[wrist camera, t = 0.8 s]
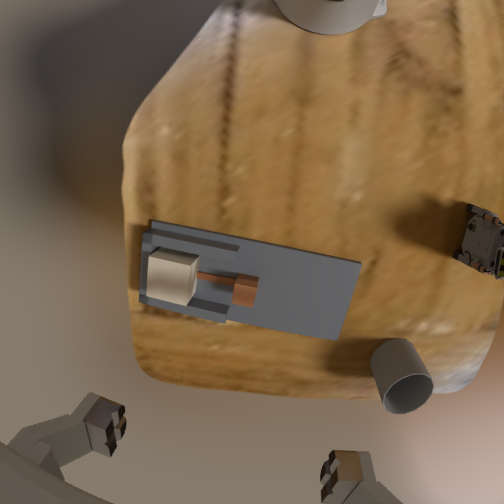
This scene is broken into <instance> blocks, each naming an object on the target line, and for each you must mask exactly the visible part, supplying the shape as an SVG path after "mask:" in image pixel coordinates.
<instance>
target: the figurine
mask: <svg viewBox="0 0 504 504" xmlns="http://www.w3.org/2000/svg"><path fill="white" fill-rule="evenodd" d="M467 211H469V212H471V213H474V214H476V215H475V216H474V217H473V218H472V219H470V220H469V222H468V226H467V229H466V232H465V236H464V239H463V242H462V250H463V252H459V251H456V250H455V253H454V256H453V258H455V259H456V260H460V261H461V262H463V263H464V264H466V265H468V266H470V267H472V268H474V269H476V270H478V271H479V272H481V273H483V274H487V273H488V275H490V274H491V275H492V276H493V275H494V276H495V278H496V279H504V223H502V221H501V219H499V218H497V216H498V215H496V214H494V213H492V212H490V211H488V210H485V209H482V208H479V207H477V206H474V205H472V204H468V208H467Z"/></svg>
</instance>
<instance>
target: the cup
mask: <svg viewBox="0 0 504 504" xmlns="http://www.w3.org/2000/svg"><path fill="white" fill-rule="evenodd" d="M370 367H371V370H372V373H373V376H374V379H375V382H376V385H377V388H378V391H379V394H380V397H381V400H382V403H383V405H384V407H385V409H386V411H388V412H390V413H392V414H406V413H409V412H412V411H415V410H417V409H418V408H419V407H421V406H422V405H424V404H425V403H426V402H427V400H428V399H429V398H430V396H431V395H432V393H433V389H434V383H433V380H432V378H431V376H430V374H429V372H428V370H427V369H426V367H425V365H424V363H423V362H422V360H421V358H420V356H419V354H418V353H417V351H416V349H415V348H414V346H413V344H412V343H411V342H409V341H408V340H406V339H402V338H394V339H391V340H388V341H386V342H384V343H383V344H381V345H380V346H379V347H378V348H376V350H375V351H374V353H373V355H372V356H371V363H370Z"/></svg>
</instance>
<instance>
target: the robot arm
mask: <svg viewBox="0 0 504 504" xmlns="http://www.w3.org/2000/svg"><path fill="white" fill-rule="evenodd" d="M274 1H275V2H276V4H277V6H278V7H279V9H280V11H281V12H282V13H283V14H284V15H285V16H286V17H287V18H288V19H289V20H290V21H291V22H293V23H294V24H296V25H298V26H299V27H301V28H303V29H306V30H309V31H312V32H315V33H320V34H328V35H336V34H344V33H348V32H351V31H353V30H356V29H357V28H359V27H361V26H362V25H363V24H364V23H366V22H367V21H368V20H370V19H375V18H380V17H383V16H384V15H385V14H386V12H387V6H386V0H274ZM124 413H125V406H124V405H121V404H119V403H116V402H114V401H111V400H109V399H106V398H104V397H102V396H99V395H97V394H94V393H92V392H90V393H88V394H87V396H86V397H85V398H84V399H83V400H82V402H81V403H80V404H79V405H78V407H77V408H76V409H75V411H74V412H73V413H72V414H71V415H68V414H67V415H64V416H61V417H57V418H54V419H51V420H48V421H45V422H41V423H38V424H34V425H31V426H28V427H24V428H22V429H21V430H20V431H19V432H18V433H17V435H16V436H15V437H14V438H13V439H12V440H11V441H10V443H9V444H8V445H7V446H6V445H5V444H3V443H2V442H0V504H113V503H110V502H108V501H106V500H103V499H101V498H98V497H96V496H94V495H92V494H90V493H87V492H85V491H83V490H81V489H79V488H77V487H75V486H73V485H71V484H69V483H67V482H65V479H64V476H63V474H62V472H61V470H60V467H62V466H63V465H66V464H68V463H70V462H72V461H74V460H76V459H77V458H80V457H82V456H83V455H85V454H87V453H89V452H91V451H92V450H93V451H95V452H98V453H100V454H103V455H105V456H108V457H111V456H112V454H113V453H114V451H115V449H116V448H117V443H116V441H118V440H120V439H122V437H123V435H124V433H125V430H126V418H125V417H124V416H123V415H124ZM320 482H321V483H322V484H323V486H324V487H323V488H322V490H321V503H323V504H403V503H401V502H400V501H399V500H398V499H397V498H396V497H395V496H394V495H393V494H392V493H391V492H390V491H389V490H387V488H386V487H384V486H383V485H382V484H381V483H380V482H376V478H375V474H374V469H373V465H372V460H371V456H370V453H369V452H365V451H344V450H332V451H331V452H330V454H329V460H327V461H325V462H324V464H323V466H322V469H321V474H320Z"/></svg>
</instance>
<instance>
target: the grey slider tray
mask: <svg viewBox="0 0 504 504" xmlns="http://www.w3.org/2000/svg"><path fill="white" fill-rule="evenodd" d="M161 247H165V248H169V249H174V250H178V251H183V252H188V253H192V254H197V255H200V261H199V268H198V271H202V272H207V273H211V274H216V275H221V276H225V277H230V278H235V279H237V277H238V274H239V273H242V274H247V275H251V276H256V277H259V282H258V287H257V292H256V297H255V301H254V305H253V308H252V307H247V306H242V305H237V304H233V303H231V302H232V296H233V291H234V286H229V285H225V284H220V283H216V282H211V281H207V280H202V279H198V278H197V284H196V292H195V293H194V295H193V296H192V298H191V299H190V301H189V302H188V304H187V305H186V306H184V305H179V304H175V303H171V302H168V301H164V300H160V299H156V298H152V297H148V296H146V293H147V275H148V260H149V256H150V255H151V254H153V253H154V252H155V251H157V250H158V249H159V248H161ZM361 265H362V264H361V262H358V261H353V260H348V259H344V258H339V257H334V256H330V255H325V254H320V253H315V252H311V251H306V250H301V249H296V248H292V247H287V246H282V245H277V244H272V243H267V242H263V241H258V240H253V239H248V238H243V237H238V236H233V235H228V234H223V233H218V232H213V231H208V230H203V229H198V228H193V227H188V226H183V225H178V224H173V223H168V222H163V221H158V220H153V221H152V226H151V228H150V229H148V230H146V231H145V232H143V239H142V252H141V268H140V288H139V302H140V303H144V304H148V305H152V306H155V307H159V308H163V309H167V310H171V311H174V312H178V313H182V314H186V315H190V316H195V317H199V318H203V319H207V320H211V321H216V322H220V323H225V322H226V319H227V320H231V321H236V322H240V323H245V324H250V325H255V326H259V327H264V328H269V329H274V330H279V331H285V332H290V333H295V334H301V335H306V336H312V337H318V338H323V339H329V340H335V341H337V339H338V336H339V334H340V331H341V328H342V325H343V322H344V319H345V316H346V313H347V310H348V307H349V304H350V301H351V298H352V295H353V292H354V289H355V285H356V282H357V279H358V276H359V272H360V269H361Z"/></svg>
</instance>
